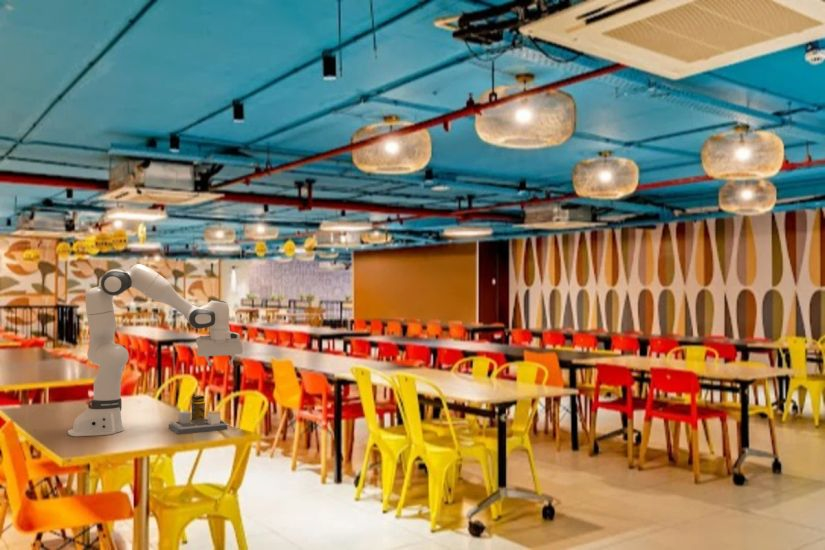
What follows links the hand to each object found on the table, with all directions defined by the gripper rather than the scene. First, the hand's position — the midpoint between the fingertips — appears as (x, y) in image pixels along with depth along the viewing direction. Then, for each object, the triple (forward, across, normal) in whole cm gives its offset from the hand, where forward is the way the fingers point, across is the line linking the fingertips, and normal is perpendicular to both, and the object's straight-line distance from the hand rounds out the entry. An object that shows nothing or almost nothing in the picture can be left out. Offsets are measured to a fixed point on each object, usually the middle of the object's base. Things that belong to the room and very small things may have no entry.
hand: (220, 365), depth 338 cm
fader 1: (+25, -16, 0) cm, 30 cm away
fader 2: (+26, -4, -5) cm, 26 cm away
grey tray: (+28, -10, -3) cm, 30 cm away
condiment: (+28, -10, +17) cm, 35 cm away
